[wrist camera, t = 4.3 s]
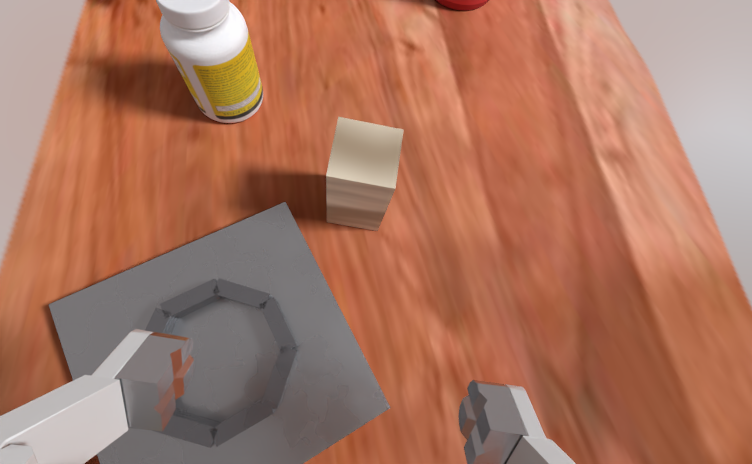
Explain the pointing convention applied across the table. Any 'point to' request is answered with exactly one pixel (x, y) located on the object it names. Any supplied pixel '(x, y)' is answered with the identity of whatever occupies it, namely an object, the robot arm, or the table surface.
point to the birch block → (362, 173)
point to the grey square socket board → (233, 347)
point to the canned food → (463, 4)
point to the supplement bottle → (213, 56)
